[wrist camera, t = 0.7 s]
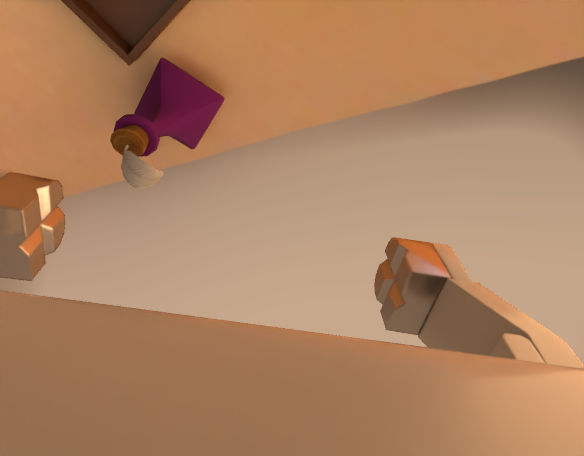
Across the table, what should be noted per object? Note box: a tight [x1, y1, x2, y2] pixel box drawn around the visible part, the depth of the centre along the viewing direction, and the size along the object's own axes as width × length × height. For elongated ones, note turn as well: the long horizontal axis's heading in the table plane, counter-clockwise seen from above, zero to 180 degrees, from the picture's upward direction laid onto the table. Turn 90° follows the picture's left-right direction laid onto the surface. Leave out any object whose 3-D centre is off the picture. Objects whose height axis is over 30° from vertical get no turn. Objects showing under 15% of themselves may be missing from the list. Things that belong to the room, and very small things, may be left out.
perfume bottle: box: [110, 58, 224, 188], centre depth 42 cm, size 8×8×18 cm
